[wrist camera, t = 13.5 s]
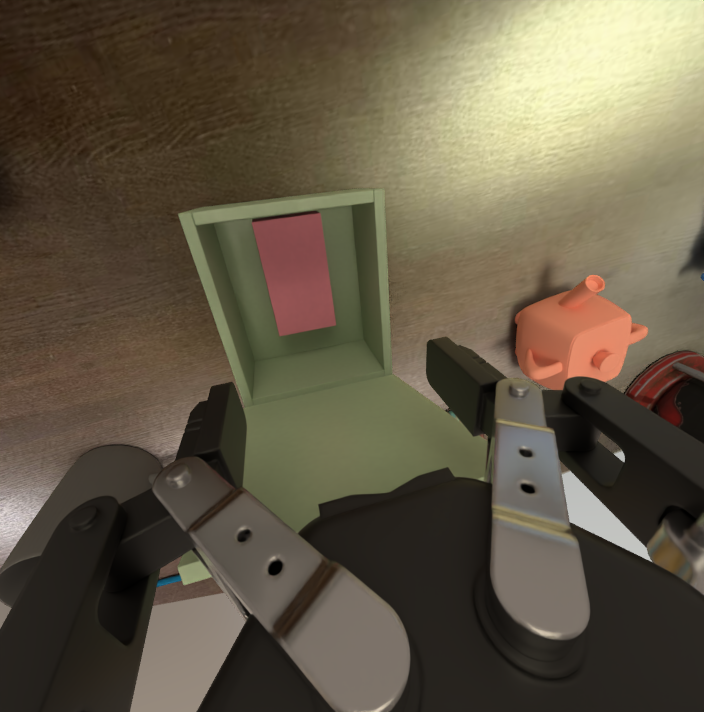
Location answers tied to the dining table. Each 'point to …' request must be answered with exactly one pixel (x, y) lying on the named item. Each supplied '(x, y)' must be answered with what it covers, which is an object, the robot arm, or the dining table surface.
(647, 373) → the hourglass
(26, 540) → the mug
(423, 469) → the lid
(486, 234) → the dining table surface
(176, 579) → the pencil
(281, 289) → the pink rectangular box
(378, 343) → the chest
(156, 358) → the dining table surface
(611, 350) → the teapot
